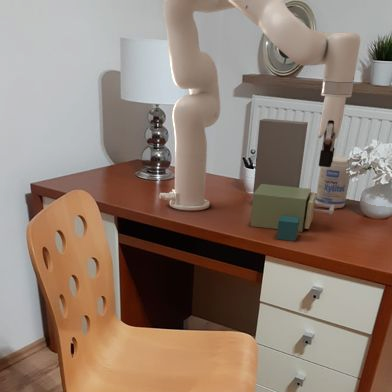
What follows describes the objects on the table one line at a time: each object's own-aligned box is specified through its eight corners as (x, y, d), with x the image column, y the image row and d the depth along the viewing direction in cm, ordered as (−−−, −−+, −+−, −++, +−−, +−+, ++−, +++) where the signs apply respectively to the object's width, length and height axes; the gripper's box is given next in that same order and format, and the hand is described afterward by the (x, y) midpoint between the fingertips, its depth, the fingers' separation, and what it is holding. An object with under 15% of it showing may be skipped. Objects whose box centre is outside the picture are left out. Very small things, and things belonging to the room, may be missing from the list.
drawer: (332, 220, 153) (336, 195, 149) (329, 231, 144) (334, 205, 140) (267, 212, 157) (270, 188, 154) (260, 223, 148) (263, 197, 144)
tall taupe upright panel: (297, 205, 170) (308, 122, 157) (293, 209, 165) (304, 124, 152) (257, 199, 174) (264, 118, 161) (251, 203, 169) (259, 120, 156)
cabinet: (306, 219, 156) (311, 188, 151) (301, 232, 145) (306, 199, 141) (258, 214, 159) (261, 183, 154) (250, 226, 148) (253, 193, 144)
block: (297, 235, 142) (300, 217, 140) (295, 241, 138) (297, 222, 136) (279, 233, 144) (281, 215, 141) (276, 238, 139) (278, 220, 137)
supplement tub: (321, 209, 166) (329, 161, 158) (310, 201, 174) (316, 155, 166) (349, 209, 168) (358, 161, 160) (337, 201, 176) (345, 155, 168)
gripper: (324, 86, 140) (314, 157, 149) (319, 91, 125) (308, 169, 135) (353, 88, 138) (341, 160, 147) (351, 93, 124) (337, 172, 133)
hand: (325, 163), depth 141 cm, fingers open, 5 cm apart
